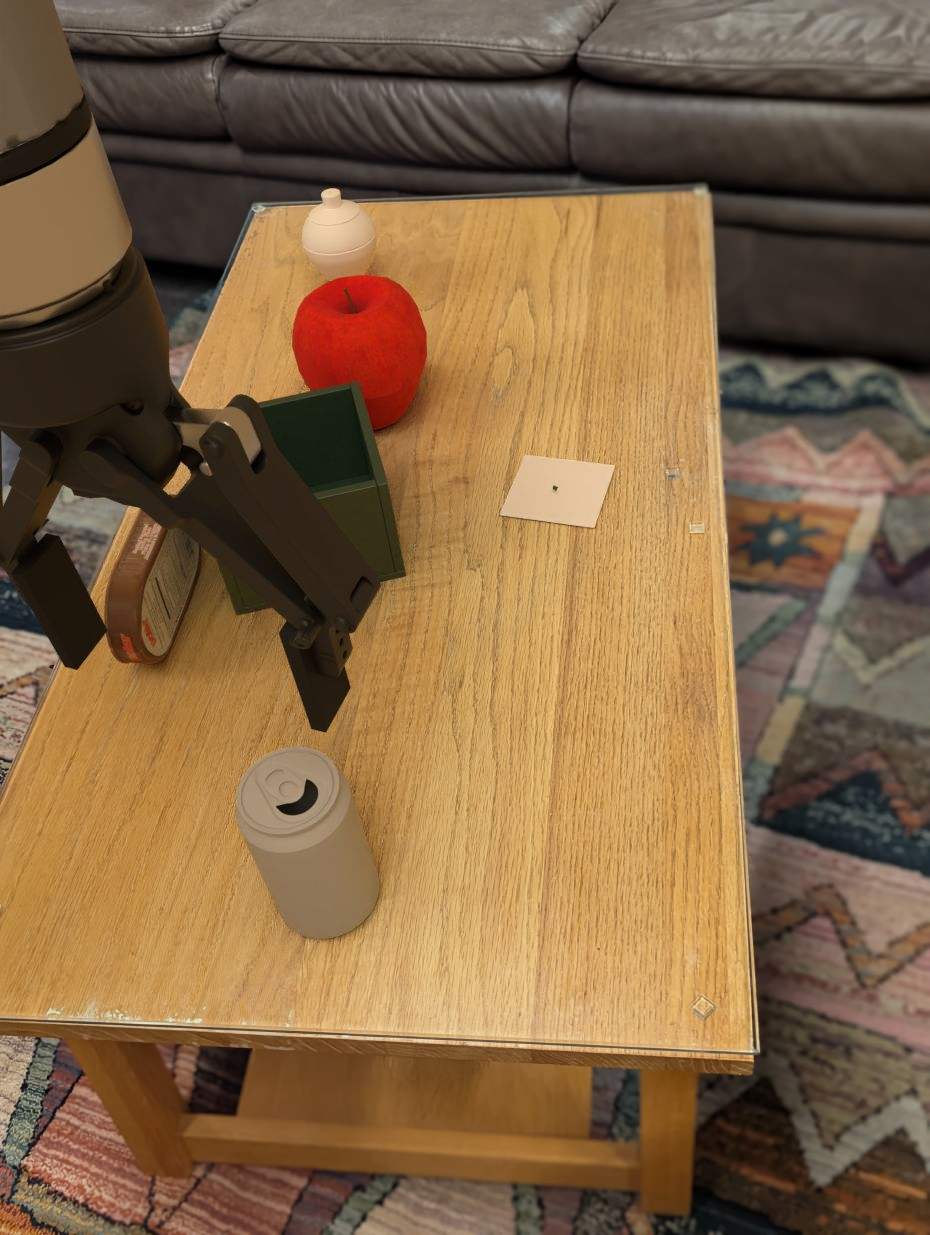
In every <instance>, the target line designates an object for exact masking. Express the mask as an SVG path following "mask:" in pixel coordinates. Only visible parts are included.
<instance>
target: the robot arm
mask: <svg viewBox="0 0 930 1235" xmlns="http://www.w3.org/2000/svg"><path fill="white" fill-rule="evenodd" d="M99 132H100V131H99V129H98V127H97V124H96V120H95V118H94V115H93V112H92V111H91V108H90V105H89V101H88V99H87V96H86V94H85V90H84V87H83V86H82V84H81V81H80V78H79V75H78V71H77V69H76V66H75V63H74V60H73V56H72V54H71V51H70V48H69V45H68V40H67V38H66V36H65V33H64V29H63V26H62V24H61V20H60V17H59V14H58V11H57V8H56V5H55V2H54V0H0V568H1V569H4V571H5V573H6V575H7V576H8V578H9V580H10V581H11V583H12V585H13V587H14V589H15V590H16V591H17V594H18V595H19V597H20V599H21V600H22V601H23V602H24V603H25V604H26V605H27V606H28V607H29V608H30V610H31V611H32V613H33V615H34V616H35V618H36V620H37V622H38V623H39V625H40V627H41V628H42V630H43V632H44V634H45V636H46V637H47V639H48V640H49V642H50V644H51V646H52V647H53V649H54V651H55V653H56V655H57V656H58V658H59V659H60V661H61V663H62V665H63V666H64V668H68V669H71V670H75V671H78V670H79V669H80V667H81V666H82V665H83V664H84V662H85V661H86V660H87V659H88V657H89V656H90V655H91V653H92V652H93V651H94V649H95V648H96V647H97V646H98V644H99V643H100V641H101V640H102V639H103V638H104V636H106V632H107V631H108V630H107V628H106V626H105V623H104V621H103V620H104V619H103V618H102V616H101V614H100V613H99V611H98V608H97V606H96V604H95V603H94V601H93V599H92V597H91V595H90V592H89V591H88V588H87V587H86V585H85V583H84V581H83V579H82V577H81V575H80V573H79V571H78V569H77V567H76V566H75V564H74V562H73V560H72V558H71V556H70V554H69V552H68V550H67V548H66V546H65V544H64V542H63V540H62V538H61V536H60V535H56V534H51V533H48V532H46V533H45V534H44V535H43V536H42V537H41V538H40V539H39V540H37V538H36V536H37V534H38V533H39V532H41V530H42V529H43V528H44V527H45V526H46V524H47V523H48V522H49V521H50V519H49V518H48V515H49V514H50V512H51V510H52V508H53V505H54V503H55V502H56V500H57V498H58V496H59V494H60V492H61V489H62V488H63V486H64V487H66V488H68V489H70V490H71V492H72V494H73V496H76V497H81V498H86V499H102V498H103V499H107V500H110V501H113V502H115V503H117V504H120V505H122V506H127V507H131V508H132V507H134V508H137V509H139V510H140V509H141V510H142V511H144V512H145V513H146V514H147V515H148V516H149V517H151V518H152V519H153V520H154V521H155V522H156V523H158V524H159V525H160V526H161V527H163V528H165V529H168V530H171V529H181V530H182V531H184V532H185V533H186V534H187V535H188V536H189V537H191V538H192V539H193V540H194V541H195V542H196V543H197V544H199V545H200V546H201V547H202V549H203V550H204V551H205V552H206V553H208V554H209V555H210V556H211V557H212V558H213V559H214V560H217V561H218V562H219V563H221V564H222V565H223V566H224V567H225V568H226V569H228V570H229V571H230V572H231V573H232V574H233V575H234V576H236V577H237V578H238V579H239V580H240V581H241V582H243V583H244V584H245V585H246V586H247V587H248V588H249V589H251V590H252V591H253V592H254V593H255V594H256V595H258V596H259V597H260V598H261V599H262V600H263V601H264V602H266V603H267V604H268V605H269V606H270V609H272V610H274V611H275V612H276V613H277V614H278V615H279V616H280V617H281V618H283V619H284V620H285V622H284V624H283V626H282V627H281V629H280V630H279V631H278V636H279V639H280V642H281V644H282V647H283V650H284V652H285V657H286V660H287V662H288V665H289V668H290V671H291V674H292V677H293V681H294V682H295V686H296V689H297V692H298V695H299V697H300V700H301V704H302V706H303V709H304V712H305V715H306V718H307V721H308V723H309V724H308V725H309V727H310V729H311V730H313V731H317V732H321V733H325V734H327V732H328V730H329V728H330V726H331V725H332V724H333V722H334V720H335V717H336V716H337V715H338V712H339V710H340V708H341V707H342V705H343V703H344V702H345V699H346V697H347V696H348V695H349V693H350V691H351V689H352V686H351V683H350V679H349V676H348V673H347V669H346V664H347V663H348V661H349V660H350V657H351V655H352V652H353V649H354V646H353V643H352V639H351V636H350V634H354V633H356V631H357V629H358V628H359V626H360V624H361V623H362V621H363V619H364V618H365V616H366V613H367V612H368V610H369V609H370V606H371V605H372V603H373V601H374V600H375V598H376V596H377V594H378V592H379V591H380V589H381V587H382V582H380V581H379V579H378V577H377V576H376V575H375V573H374V572H373V571H372V570H371V568H370V567H369V566H368V564H367V563H366V562H365V560H364V559H363V558H362V557H361V555H360V554H359V553H358V551H357V550H356V549H355V548H354V546H353V545H352V544H351V542H350V541H349V540H348V538H347V537H346V536H345V535H344V533H343V532H342V531H341V529H340V528H339V527H338V525H337V524H336V523H335V522H334V520H333V519H332V518H331V516H330V515H329V514H328V513H327V511H326V510H325V509H324V507H323V506H322V505H321V503H320V502H319V501H318V500H317V498H316V497H315V496H314V494H313V493H312V492H311V490H310V489H309V488H308V487H307V485H306V484H305V483H304V481H303V480H302V479H301V478H300V476H299V475H298V474H297V472H296V471H295V470H294V468H293V467H292V466H291V465H290V463H289V462H288V461H287V459H286V458H285V457H284V455H283V454H282V453H281V452H280V450H279V449H278V448H277V446H276V444H275V442H274V439H273V437H272V434H271V432H270V429H269V427H268V424H267V422H266V420H265V417H264V415H263V412H262V410H261V408H260V406H259V404H258V402H257V401H256V400H255V399H254V398H253V397H251V396H249V395H247V394H243V393H239V394H236V395H234V396H233V397H232V398H231V400H230V401H229V402H228V403H227V404H226V405H225V407H224V408H222V409H219V408H202V407H201V408H200V407H198V408H197V407H196V408H195V407H192V406H191V404H190V403H189V402H188V401H187V399H185V397H184V396H183V395H182V394H181V392H180V391H179V390H178V388H177V387H176V385H175V384H174V382H173V379H172V376H171V371H170V370H171V369H170V348H171V347H170V346H171V345H170V342H171V341H170V333H169V332H170V331H169V328H168V326H167V322H166V320H165V316H164V313H163V311H162V307H161V305H160V303H159V302H160V301H159V300H158V296H157V293H156V290H155V288H154V285H153V281H152V279H151V277H150V273H149V271H148V267H147V265H146V262H145V259H144V257H143V255H142V253H141V251H140V250H139V249H138V248H137V247H136V246H135V245H133V244H132V239H133V238H132V237H133V228H132V225H131V222H130V219H129V216H128V214H127V211H126V207H125V205H124V202H123V199H122V195H121V194H120V190H119V187H118V185H117V182H116V179H115V176H114V173H113V171H112V167H111V164H110V162H109V158H108V156H107V152H106V149H105V147H104V144H103V140H102V138H101V135H100V133H99ZM2 433H3V434H4V435H6V437H8V438H9V439H10V440H11V441H12V442H13V443H15V445H16V446H18V448H20V451H19V452H18V457H19V459H18V461H17V463H16V466H15V468H14V470H13V472H12V475H11V477H10V479H9V481H8V486H10V490H9V492H8V494H7V497H6V499H5V501H4V494H3V492H4V491H3V452H2V450H3V446H2ZM181 464H183V465H184V466H185V467H186V468H187V470H189V473H190V476H189V478H188V480H187V481H186V482H185V483H184V484H183V485H182V487H181V488H180V489H179V491H178V492H177V494H175V495H176V496H175V497H174V498H173V497H172V496H170V495H169V494H170V493H167V491H165V490H164V489H165V488H166V486H168V484H169V483H170V482H171V480H172V479H173V478H174V477H175V475H176V473H177V471H178V469H179V467H180V465H181ZM217 561H216V562H217Z"/></svg>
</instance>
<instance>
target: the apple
mask: <svg viewBox="0 0 930 1235" xmlns="http://www.w3.org/2000/svg"><path fill="white" fill-rule="evenodd" d="M427 335H428V333H427V330H426V327H425V324H424V321H423V317H422V314H421V313H420V310H419V306H418V304H417V303H416V302H415V300H414V298H413V297H412V296H411V294H410V293H409V291H407V289H405V288H404V287H403V286H402V285H401V284H400V283H399V282H397V281H395V280H393V279H391V278H389V277H386V276H380V275H379V276H378V275H373V274H365V275H357V276H349V277H341V278H337V279H334V280H332V281H329V280H328V281H327V282H325V283H323V284H321V285H320V286H318V287H317V288H315V289H313V290H312V291H311V292H309V293H308V294H307V295H306V296H304V298H303V299H302V301H301V302H300V304H299V305H298V307H297V310H296V314H295V317H294V320H293V325H292V334H291V348H292V352H293V355H294V358H295V359H294V360H295V362H296V365H297V369H298V373H299V375H300V377H301V378H302V380H303V382H304V384H305V385H306V386H307V388H308V389H309V391H313V390H318V389H322V388H327V387H332V386H336V385H341V384H345V383H351V382H356V381H359V383H360V386H361V390H362V393H363V397H364V400H365V404H366V408H367V411H368V415H369V418H370V422H371V425H372V429H373V431H376V430H380V429H384V428H387V427H389V426H390V425H392V424H394V423H395V422H397V421H398V420H399V419H401V418H402V417H403V415H404V414H405V413H406V411H407V410H408V408H409V406H410V404H411V403H412V401H413V399H414V398H415V395H416V392H417V389H418V386H419V383H420V381H421V378H422V375H423V372H424V369H425V367H426V362H427V357H428V336H427Z"/></svg>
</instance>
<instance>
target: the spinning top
mask: <svg viewBox="0 0 930 1235" xmlns="http://www.w3.org/2000/svg"><path fill="white" fill-rule="evenodd" d="M320 196H321V200H322V203H320V204H317V205H316V206H315V207H313V208H312V209H311V210H310V211H309V213H308V216H307V218H305V221H304V224H303V226H302V229H301V235H300V236H301V237H300V238H301V245H302V248H303V251H304V254H305V256H306V257H307V259H308V260H309V261H310V263H311V264H312V265H313V266H314V267H315V268H316V269H317V271H318V272H319V273H320V274H321V275H323V276H324V277H325V278H326V279H327V280H328V282H329V281H332V280H334V279H337V278H341V277H349V276H357V275H366V274H367V272H368V269H369V268H370V266H371V263H372V261H373V259H374V258H373V257H374V254H375V252H376V248H377V243H378V232H377V226H376V225H375V222H374V220H373V218H372V217H371V215H370V214H369V213H368V212H367V211H366V210H365V209H364V208H363V207H361V206H359V204H358V203H356V202H354V201H352V200H348V199H342V196H341V190H340V189H338V188H327V189H324V190H323V191H322V192H321V194H320Z"/></svg>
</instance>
